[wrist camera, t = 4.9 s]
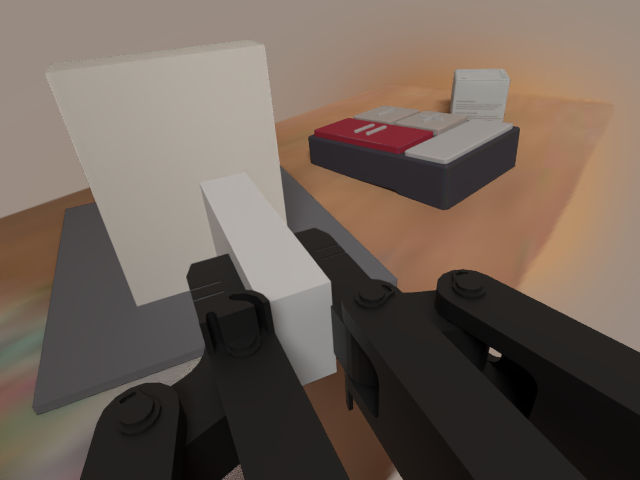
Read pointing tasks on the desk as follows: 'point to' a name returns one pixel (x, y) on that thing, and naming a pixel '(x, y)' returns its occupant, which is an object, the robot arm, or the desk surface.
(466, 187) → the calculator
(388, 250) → the desk surface
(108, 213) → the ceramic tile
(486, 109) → the small box
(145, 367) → the tile mat
